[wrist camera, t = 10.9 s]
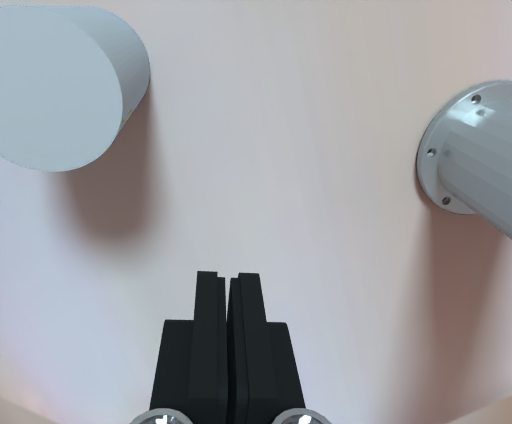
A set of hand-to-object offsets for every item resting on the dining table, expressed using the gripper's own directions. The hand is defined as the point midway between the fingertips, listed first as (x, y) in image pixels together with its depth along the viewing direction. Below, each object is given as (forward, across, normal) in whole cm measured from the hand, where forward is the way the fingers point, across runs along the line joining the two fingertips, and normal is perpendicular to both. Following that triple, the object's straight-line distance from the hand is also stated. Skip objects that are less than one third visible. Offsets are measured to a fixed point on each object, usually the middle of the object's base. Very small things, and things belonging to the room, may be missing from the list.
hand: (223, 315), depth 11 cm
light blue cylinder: (+25, +10, -3) cm, 27 cm away
